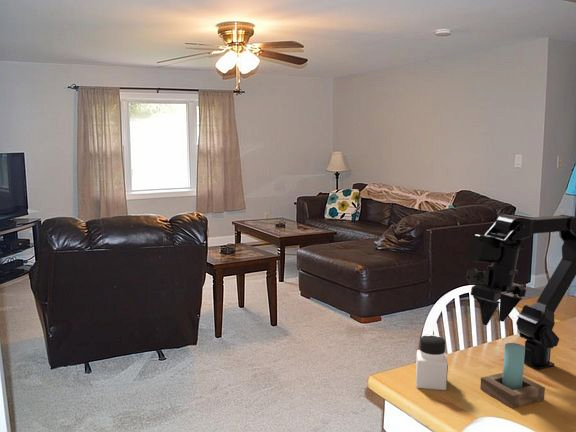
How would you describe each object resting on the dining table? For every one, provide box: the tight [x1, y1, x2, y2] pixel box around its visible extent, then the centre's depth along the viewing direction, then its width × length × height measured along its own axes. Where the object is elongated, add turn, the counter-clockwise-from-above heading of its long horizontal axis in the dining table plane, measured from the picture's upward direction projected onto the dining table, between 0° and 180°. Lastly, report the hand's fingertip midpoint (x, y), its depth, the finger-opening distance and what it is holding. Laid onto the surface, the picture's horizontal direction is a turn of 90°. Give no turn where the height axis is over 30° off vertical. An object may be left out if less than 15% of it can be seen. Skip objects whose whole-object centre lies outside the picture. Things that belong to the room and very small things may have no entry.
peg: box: [502, 342, 525, 390], centre depth 128 cm, size 4×4×12 cm
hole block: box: [479, 372, 546, 409], centre depth 129 cm, size 10×10×3 cm
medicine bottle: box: [415, 334, 449, 391], centre depth 134 cm, size 7×7×12 cm
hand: (493, 322), depth 139 cm, fingers open, 9 cm apart
